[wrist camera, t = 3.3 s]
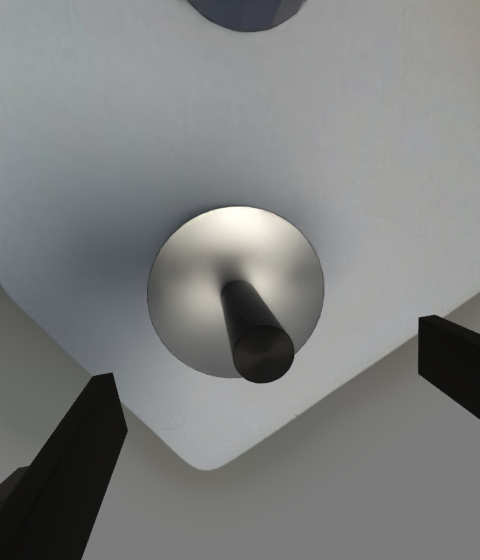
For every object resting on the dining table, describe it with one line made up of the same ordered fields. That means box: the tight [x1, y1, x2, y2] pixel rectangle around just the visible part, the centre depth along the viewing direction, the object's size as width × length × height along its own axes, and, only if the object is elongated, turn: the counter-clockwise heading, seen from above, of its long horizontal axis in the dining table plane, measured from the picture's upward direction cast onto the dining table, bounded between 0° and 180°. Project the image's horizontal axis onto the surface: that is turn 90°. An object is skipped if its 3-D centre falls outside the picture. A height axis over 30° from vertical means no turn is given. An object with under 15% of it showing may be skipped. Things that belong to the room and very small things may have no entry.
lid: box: [147, 206, 324, 383], centre depth 19 cm, size 14×14×11 cm
